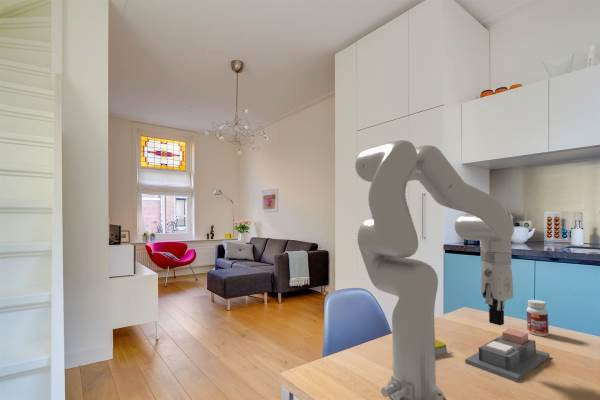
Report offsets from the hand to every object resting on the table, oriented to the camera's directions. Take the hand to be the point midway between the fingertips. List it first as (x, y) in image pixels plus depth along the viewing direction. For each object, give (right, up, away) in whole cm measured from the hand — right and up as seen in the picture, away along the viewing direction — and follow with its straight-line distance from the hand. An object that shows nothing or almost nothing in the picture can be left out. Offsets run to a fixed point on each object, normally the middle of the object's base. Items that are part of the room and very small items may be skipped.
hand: (496, 323), depth 89 cm
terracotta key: (+10, -9, +6) cm, 15 cm away
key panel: (+5, -12, +3) cm, 13 cm away
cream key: (+1, -10, 0) cm, 10 cm away
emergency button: (-17, -13, +10) cm, 23 cm away
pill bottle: (+30, -13, +24) cm, 40 cm away
